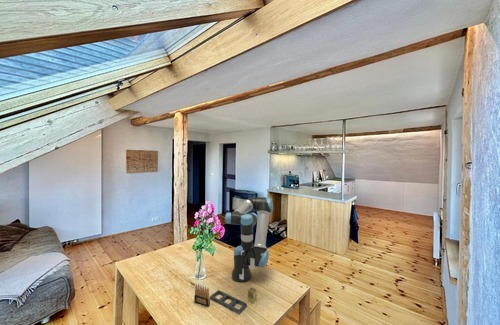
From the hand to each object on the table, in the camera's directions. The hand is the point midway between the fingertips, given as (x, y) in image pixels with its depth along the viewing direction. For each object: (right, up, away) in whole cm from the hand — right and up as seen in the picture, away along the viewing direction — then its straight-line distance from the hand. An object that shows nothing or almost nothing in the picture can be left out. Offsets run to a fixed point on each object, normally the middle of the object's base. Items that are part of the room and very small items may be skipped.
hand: (247, 273), depth 128 cm
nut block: (+3, -19, +3) cm, 20 cm away
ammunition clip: (-29, -20, 0) cm, 35 cm away
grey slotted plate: (-12, -19, +1) cm, 23 cm away
